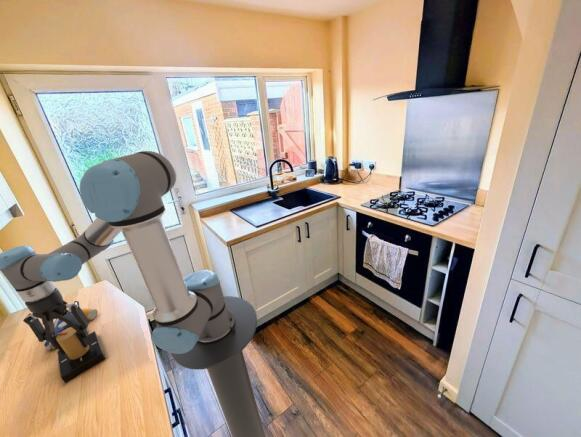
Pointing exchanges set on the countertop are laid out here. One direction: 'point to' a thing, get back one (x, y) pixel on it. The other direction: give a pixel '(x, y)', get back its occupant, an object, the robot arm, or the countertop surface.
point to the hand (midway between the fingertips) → (76, 347)
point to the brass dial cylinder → (71, 343)
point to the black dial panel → (81, 360)
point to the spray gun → (62, 325)
